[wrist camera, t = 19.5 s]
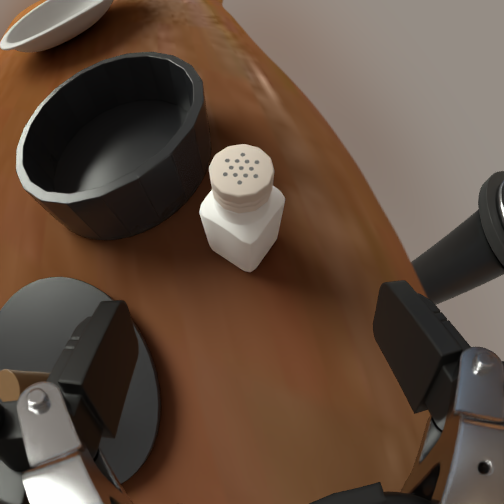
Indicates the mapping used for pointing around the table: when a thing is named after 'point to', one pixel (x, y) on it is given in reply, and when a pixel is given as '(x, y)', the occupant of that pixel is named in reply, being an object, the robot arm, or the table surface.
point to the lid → (51, 346)
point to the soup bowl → (53, 24)
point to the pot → (118, 145)
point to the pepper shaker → (242, 206)
